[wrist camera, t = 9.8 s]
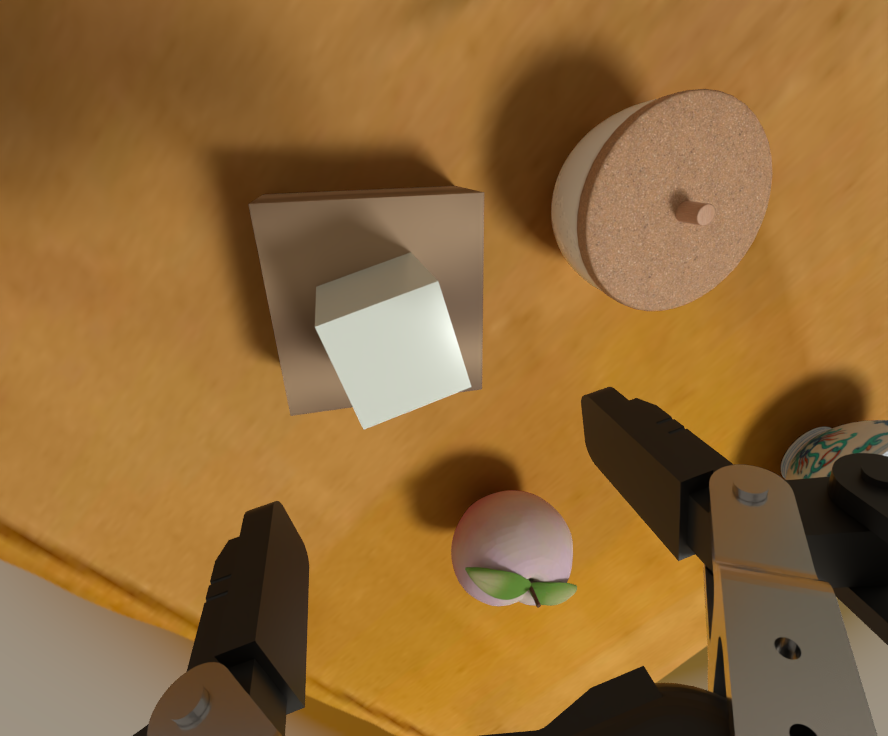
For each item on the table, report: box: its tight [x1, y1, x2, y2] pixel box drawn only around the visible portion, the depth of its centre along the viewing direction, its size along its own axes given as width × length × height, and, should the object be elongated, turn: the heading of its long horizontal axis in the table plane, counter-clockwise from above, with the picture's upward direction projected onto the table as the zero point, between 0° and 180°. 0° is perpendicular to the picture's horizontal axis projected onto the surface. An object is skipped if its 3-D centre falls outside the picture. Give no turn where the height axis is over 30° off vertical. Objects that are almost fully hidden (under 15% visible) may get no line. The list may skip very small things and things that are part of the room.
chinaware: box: [781, 420, 888, 480], centre depth 43 cm, size 15×15×8 cm
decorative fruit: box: [451, 490, 577, 607], centre depth 34 cm, size 9×8×10 cm
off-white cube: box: [315, 252, 471, 429], centre depth 21 cm, size 5×5×6 cm
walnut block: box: [249, 186, 484, 416], centre depth 26 cm, size 11×11×6 cm
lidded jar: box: [551, 89, 772, 311], centre depth 26 cm, size 11×11×9 cm
